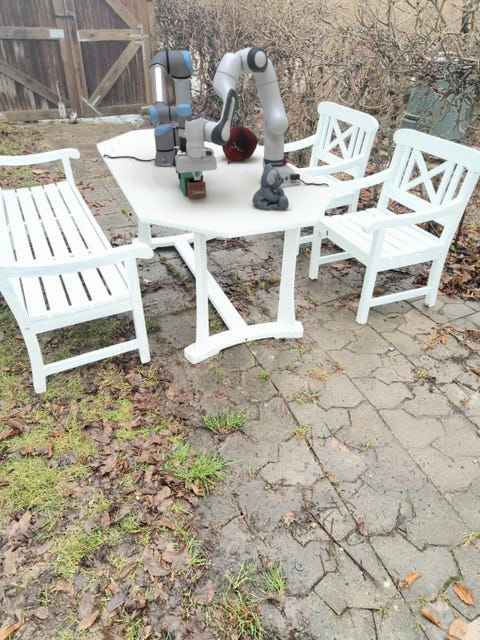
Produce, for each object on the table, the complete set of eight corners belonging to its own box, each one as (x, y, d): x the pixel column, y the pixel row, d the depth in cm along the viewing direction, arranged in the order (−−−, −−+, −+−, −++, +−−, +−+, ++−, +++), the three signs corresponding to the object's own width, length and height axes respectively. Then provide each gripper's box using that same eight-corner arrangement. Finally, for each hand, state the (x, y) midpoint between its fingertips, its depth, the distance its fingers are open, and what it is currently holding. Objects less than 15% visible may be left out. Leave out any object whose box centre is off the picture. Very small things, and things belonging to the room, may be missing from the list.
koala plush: (289, 210, 223) (292, 171, 212) (253, 212, 222) (254, 172, 211) (284, 198, 237) (286, 161, 226) (250, 200, 236) (250, 162, 225)
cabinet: (204, 194, 244) (203, 175, 238) (185, 196, 242) (183, 177, 236) (197, 183, 259) (196, 166, 254) (179, 185, 257) (178, 167, 252)
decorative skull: (218, 132, 305) (218, 129, 282) (252, 124, 304) (255, 121, 281) (225, 164, 312) (225, 164, 288) (258, 157, 311) (261, 156, 288)
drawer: (208, 200, 232) (207, 185, 228) (191, 202, 230) (189, 187, 226) (199, 187, 251) (198, 172, 247) (183, 188, 249) (182, 174, 245)
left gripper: (165, 139, 234) (169, 181, 247) (208, 136, 239) (210, 178, 252) (163, 136, 240) (167, 177, 253) (205, 133, 245) (207, 174, 258)
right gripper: (175, 154, 215) (177, 183, 223) (217, 151, 219) (218, 180, 227) (173, 151, 220) (176, 179, 228) (214, 148, 224) (215, 176, 232)
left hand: (189, 177), depth 252 cm, fingers closed on cabinet, 10 cm apart
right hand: (197, 179), depth 227 cm, fingers closed
